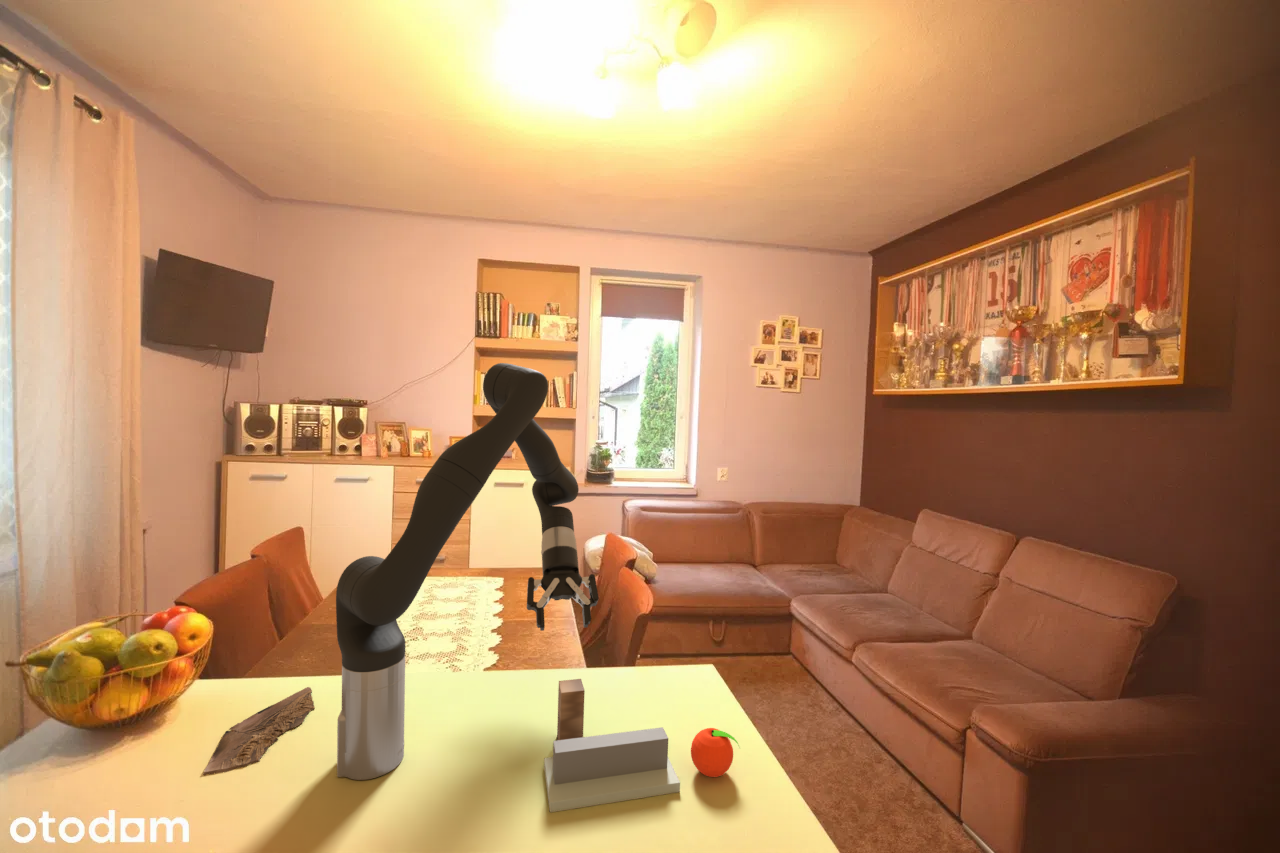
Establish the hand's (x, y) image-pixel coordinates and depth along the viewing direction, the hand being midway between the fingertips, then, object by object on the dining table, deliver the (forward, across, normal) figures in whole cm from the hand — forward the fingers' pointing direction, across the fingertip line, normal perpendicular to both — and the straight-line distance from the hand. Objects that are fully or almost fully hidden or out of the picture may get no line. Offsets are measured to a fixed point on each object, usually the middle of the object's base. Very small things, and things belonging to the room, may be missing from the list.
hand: (564, 627), depth 107 cm
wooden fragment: (+9, -52, +13) cm, 55 cm away
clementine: (+28, +22, -6) cm, 37 cm away
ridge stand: (+27, +5, -5) cm, 28 cm away
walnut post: (+19, 0, +3) cm, 19 cm away
